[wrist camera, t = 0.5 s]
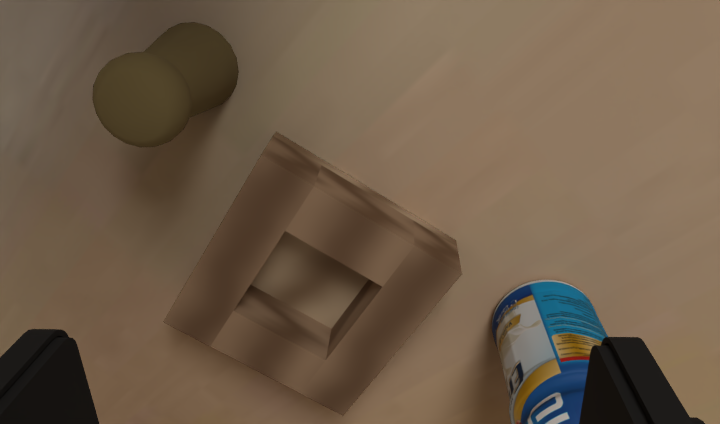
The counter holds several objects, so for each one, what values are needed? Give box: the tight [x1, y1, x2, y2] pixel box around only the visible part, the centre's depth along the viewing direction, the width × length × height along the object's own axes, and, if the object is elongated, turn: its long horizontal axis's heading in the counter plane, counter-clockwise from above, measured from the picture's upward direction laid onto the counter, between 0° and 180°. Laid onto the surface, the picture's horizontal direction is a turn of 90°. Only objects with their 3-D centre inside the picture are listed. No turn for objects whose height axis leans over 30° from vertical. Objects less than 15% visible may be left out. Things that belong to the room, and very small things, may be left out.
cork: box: [93, 22, 239, 147], centre depth 36 cm, size 6×6×11 cm
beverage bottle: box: [492, 280, 608, 424], centre depth 39 cm, size 8×8×20 cm
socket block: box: [163, 132, 462, 415], centre depth 45 cm, size 16×16×5 cm
